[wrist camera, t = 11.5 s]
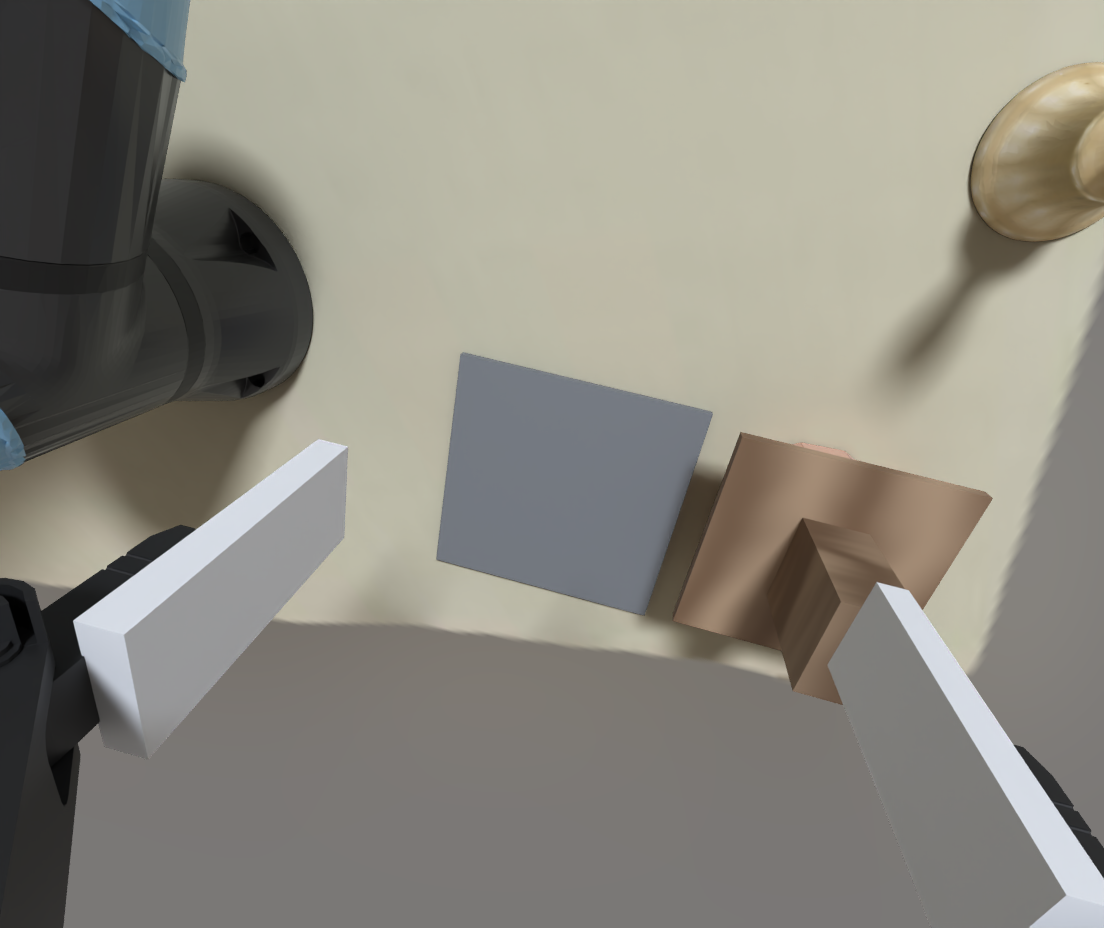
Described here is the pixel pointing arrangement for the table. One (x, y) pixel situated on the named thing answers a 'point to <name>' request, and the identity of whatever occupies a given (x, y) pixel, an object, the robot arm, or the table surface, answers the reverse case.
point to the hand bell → (1045, 158)
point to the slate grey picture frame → (565, 481)
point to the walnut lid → (817, 550)
